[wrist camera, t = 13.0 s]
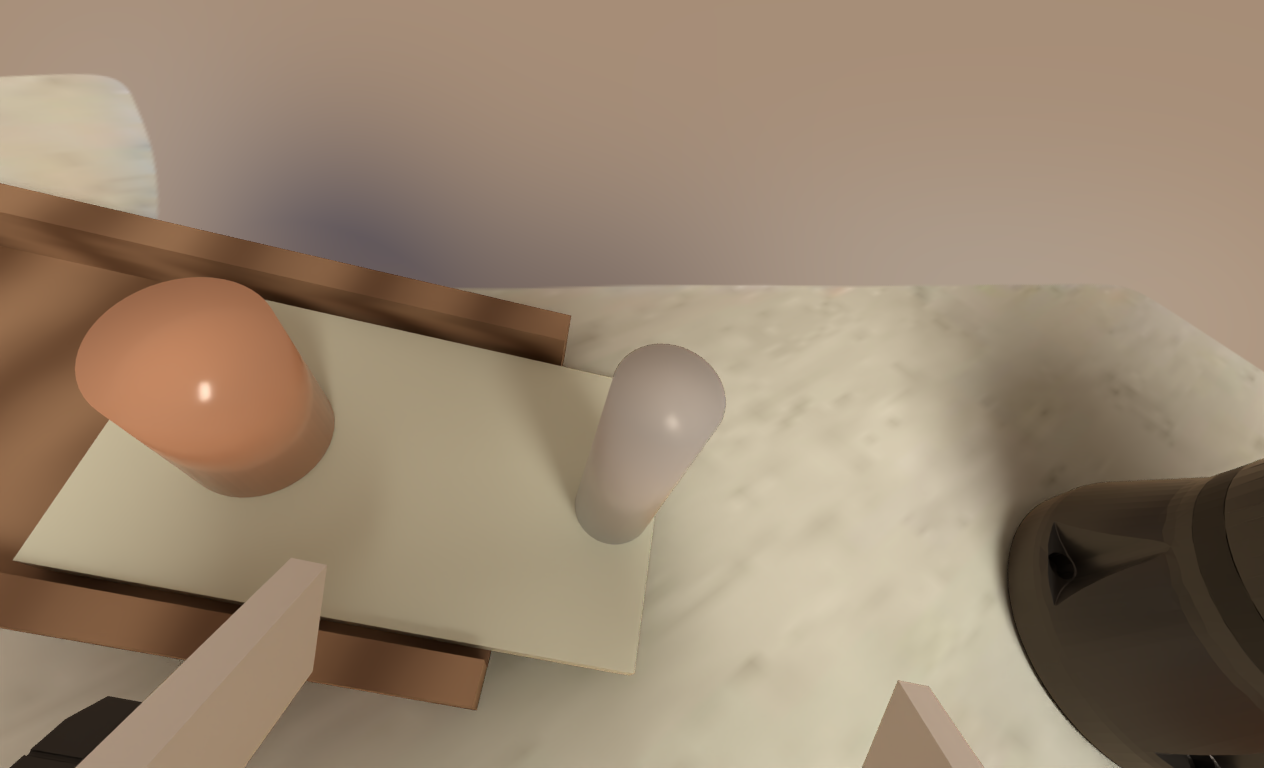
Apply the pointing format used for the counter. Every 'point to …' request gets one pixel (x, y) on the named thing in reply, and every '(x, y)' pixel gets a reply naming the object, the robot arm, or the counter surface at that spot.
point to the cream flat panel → (423, 496)
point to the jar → (208, 385)
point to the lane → (68, 425)
